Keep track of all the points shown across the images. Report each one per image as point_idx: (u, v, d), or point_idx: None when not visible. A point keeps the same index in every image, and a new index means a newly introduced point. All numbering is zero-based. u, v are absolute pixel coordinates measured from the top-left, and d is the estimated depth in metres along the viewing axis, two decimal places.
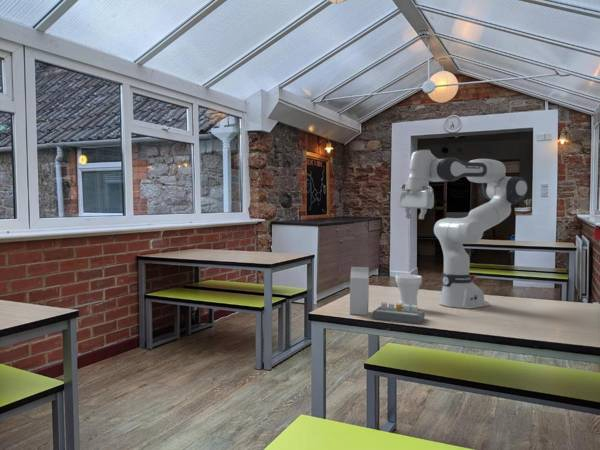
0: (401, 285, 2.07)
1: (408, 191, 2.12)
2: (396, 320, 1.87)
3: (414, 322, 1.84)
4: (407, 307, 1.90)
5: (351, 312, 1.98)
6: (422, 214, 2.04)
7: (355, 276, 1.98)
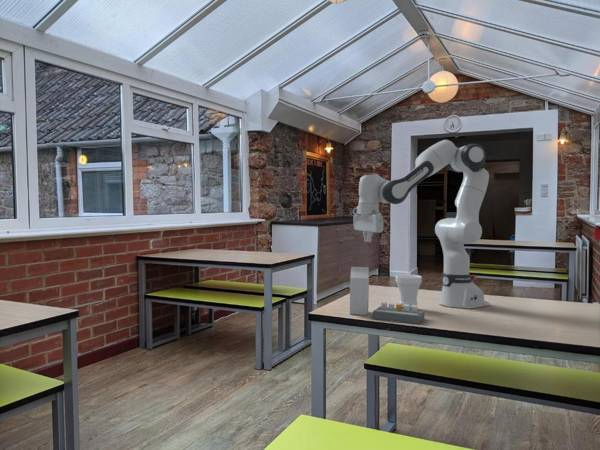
0: (401, 285, 2.07)
1: (360, 215, 2.17)
2: (396, 320, 1.87)
3: (414, 322, 1.84)
4: (407, 307, 1.90)
5: (351, 312, 1.98)
6: (369, 237, 2.13)
7: (355, 276, 1.98)
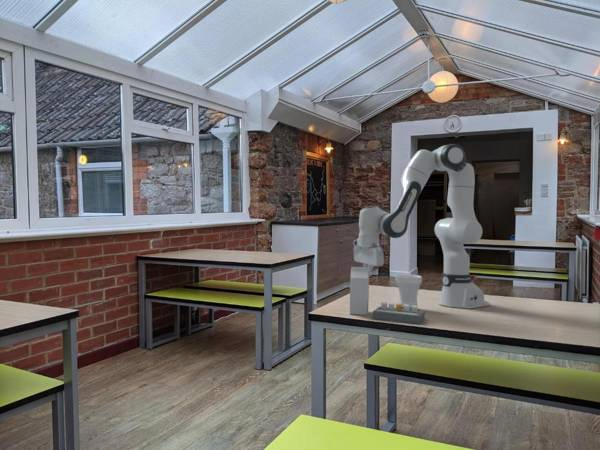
0: (401, 285, 2.07)
1: (360, 247, 2.17)
2: (396, 320, 1.87)
3: (414, 322, 1.84)
4: (407, 307, 1.90)
5: (351, 312, 1.98)
6: (369, 270, 2.13)
7: (355, 276, 1.98)
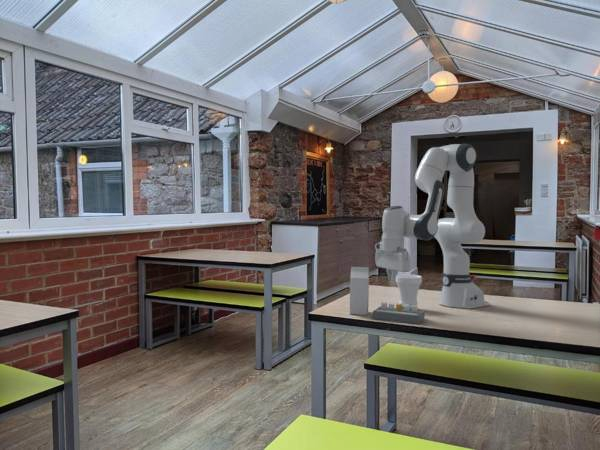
0: (401, 285, 2.07)
1: (383, 251, 1.98)
2: (396, 320, 1.87)
3: (414, 322, 1.84)
4: (407, 307, 1.90)
5: (351, 312, 1.98)
6: (393, 276, 1.95)
7: (355, 276, 1.98)
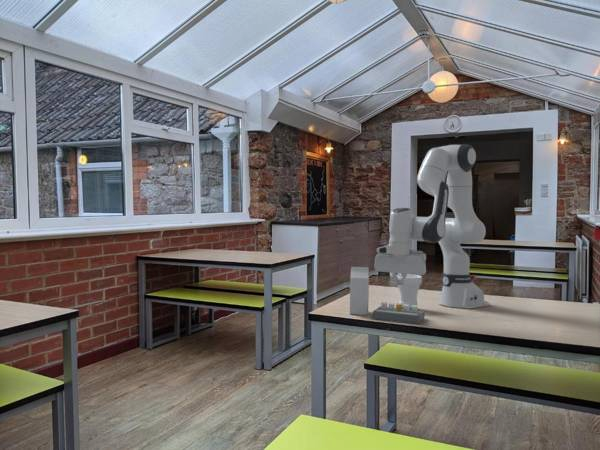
0: (401, 285, 2.07)
1: (390, 255, 1.91)
2: (396, 320, 1.87)
3: (414, 322, 1.84)
4: (407, 307, 1.90)
5: (351, 312, 1.98)
6: (403, 280, 1.90)
7: (355, 276, 1.98)
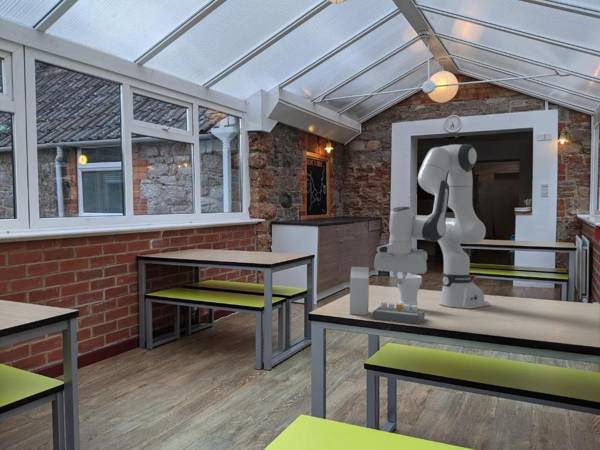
0: (401, 285, 2.07)
1: (390, 254, 1.90)
2: (396, 320, 1.87)
3: (414, 322, 1.84)
4: (407, 307, 1.90)
5: (351, 312, 1.98)
6: (404, 278, 1.90)
7: (355, 276, 1.98)
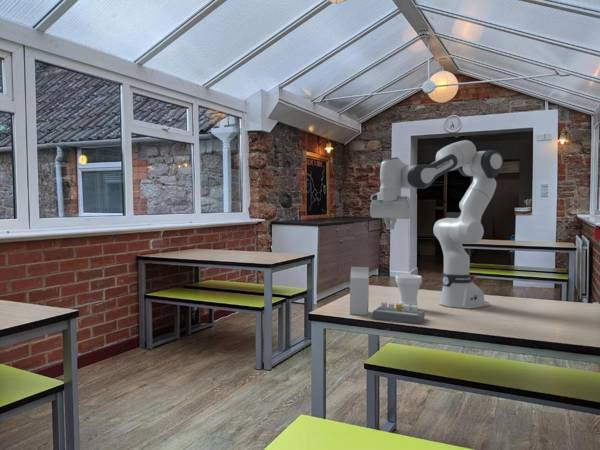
0: (401, 285, 2.07)
1: (381, 201, 2.07)
2: (396, 320, 1.87)
3: (414, 322, 1.84)
4: (407, 307, 1.90)
5: (351, 312, 1.98)
6: (392, 224, 2.05)
7: (355, 276, 1.98)
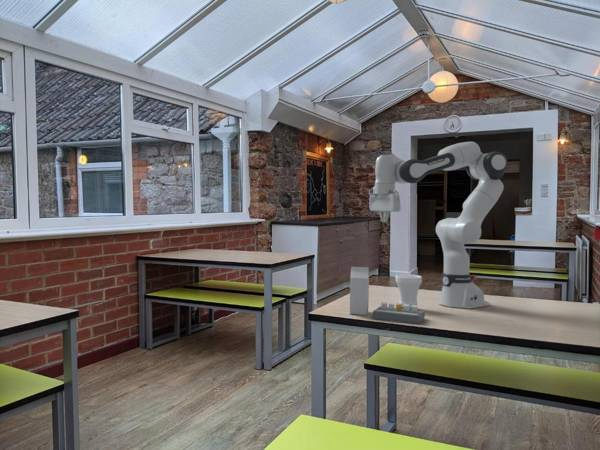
0: (401, 285, 2.07)
1: (376, 195, 2.17)
2: (396, 320, 1.87)
3: (414, 322, 1.84)
4: (407, 307, 1.90)
5: (351, 312, 1.98)
6: (385, 217, 2.14)
7: (355, 276, 1.98)
